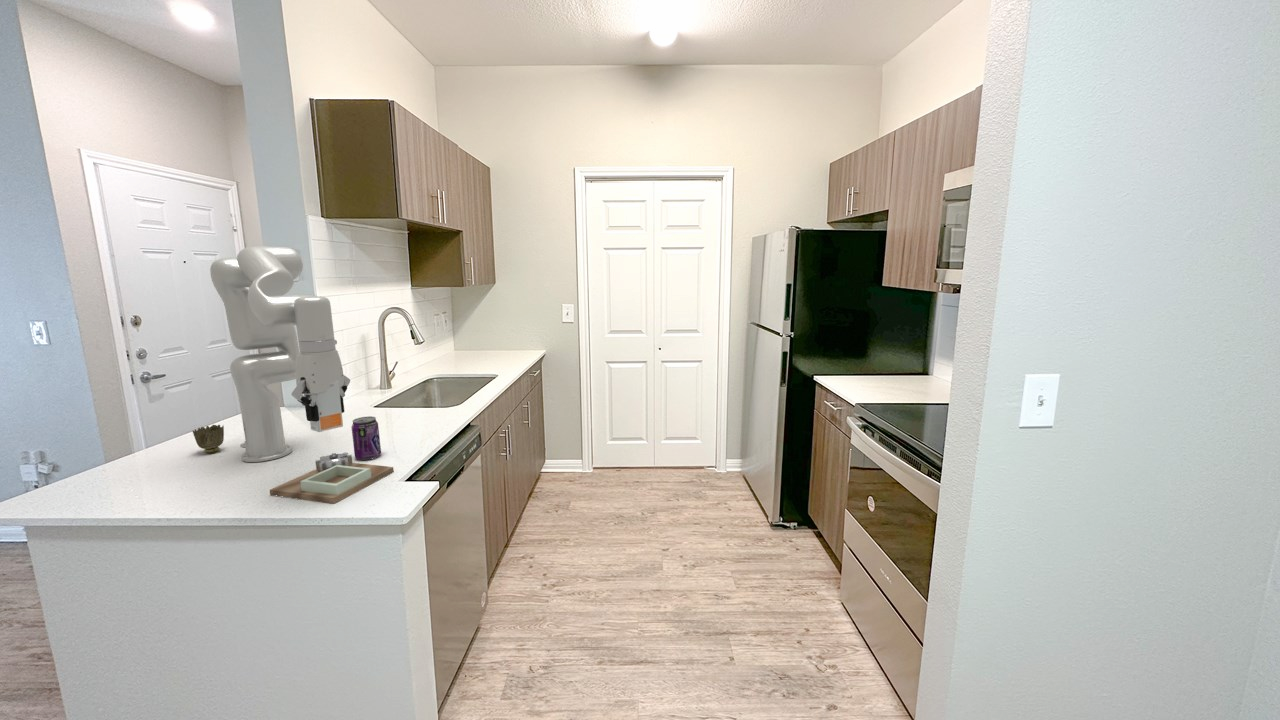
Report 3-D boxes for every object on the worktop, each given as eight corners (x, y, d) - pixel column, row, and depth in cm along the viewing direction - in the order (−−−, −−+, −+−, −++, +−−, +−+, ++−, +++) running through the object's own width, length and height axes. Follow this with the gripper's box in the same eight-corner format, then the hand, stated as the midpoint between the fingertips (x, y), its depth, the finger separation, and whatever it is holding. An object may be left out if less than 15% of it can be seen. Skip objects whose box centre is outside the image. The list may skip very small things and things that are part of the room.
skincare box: (319, 433, 123) (313, 385, 121) (310, 430, 125) (304, 383, 123) (344, 426, 128) (339, 381, 126) (335, 423, 130) (330, 379, 128)
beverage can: (370, 462, 148) (365, 423, 146) (349, 460, 150) (344, 422, 147) (386, 453, 155) (382, 416, 153) (366, 452, 156) (362, 415, 154)
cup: (191, 454, 156) (187, 430, 154) (218, 446, 162) (214, 423, 161) (205, 457, 153) (201, 432, 151) (232, 449, 160) (228, 425, 158)
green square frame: (301, 490, 126) (300, 481, 125) (337, 473, 136) (336, 464, 136) (337, 495, 123) (335, 485, 122) (371, 477, 133) (370, 468, 133)
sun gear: (309, 472, 137) (307, 459, 136) (335, 461, 145) (333, 448, 144) (334, 475, 135) (333, 462, 134) (359, 463, 143) (358, 451, 142)
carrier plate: (270, 495, 127) (269, 489, 126) (335, 465, 146) (335, 460, 145) (334, 503, 122) (333, 498, 121) (393, 472, 141) (393, 467, 140)
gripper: (334, 341, 132) (342, 406, 135) (272, 352, 116) (282, 425, 119) (358, 342, 130) (365, 408, 134) (297, 353, 114) (307, 428, 117)
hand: (326, 416), depth 126 cm, fingers closed on skincare box, 6 cm apart
